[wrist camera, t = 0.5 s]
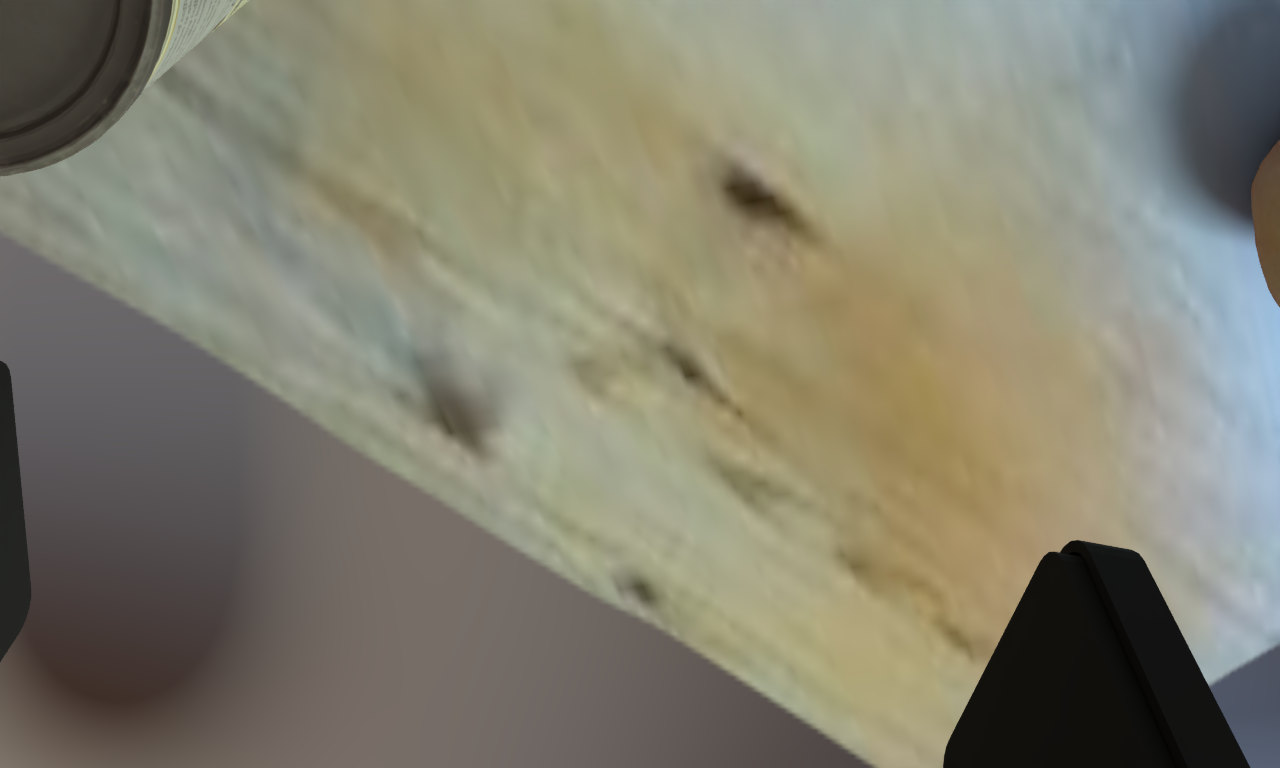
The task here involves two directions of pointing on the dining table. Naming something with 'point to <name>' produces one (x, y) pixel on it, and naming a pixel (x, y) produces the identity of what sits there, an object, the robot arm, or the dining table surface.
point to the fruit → (1268, 218)
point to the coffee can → (86, 67)
